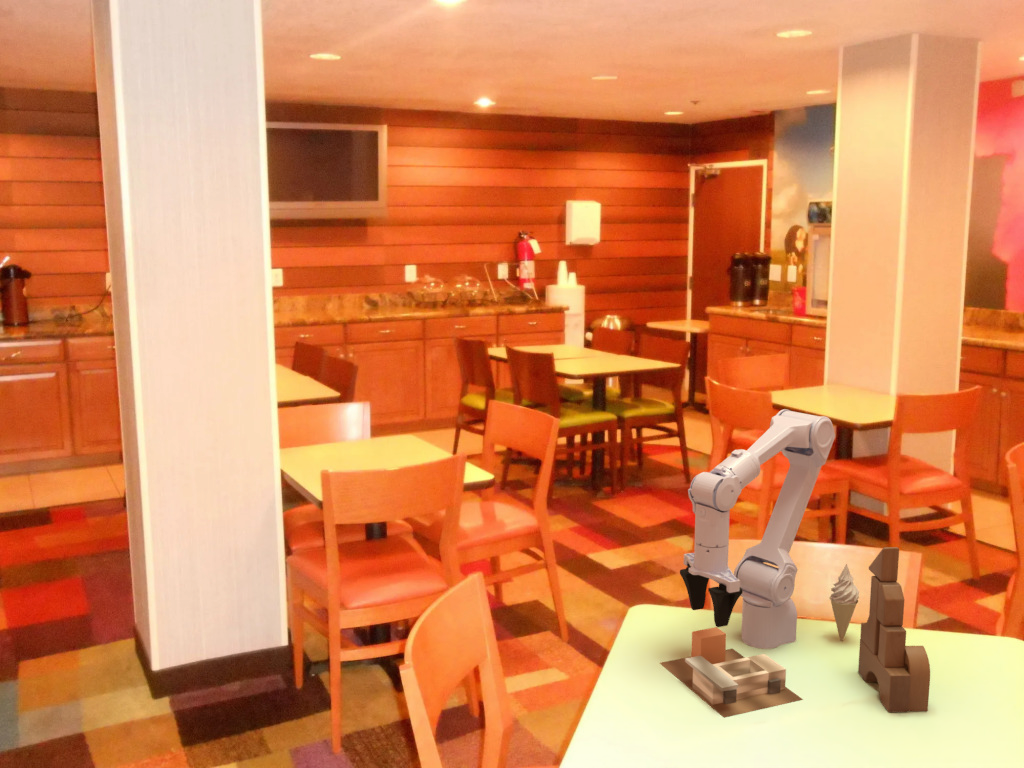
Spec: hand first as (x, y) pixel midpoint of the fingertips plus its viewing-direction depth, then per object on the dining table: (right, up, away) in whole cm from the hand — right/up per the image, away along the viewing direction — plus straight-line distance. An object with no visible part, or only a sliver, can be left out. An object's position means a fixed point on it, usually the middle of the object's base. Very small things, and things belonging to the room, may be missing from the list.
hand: (709, 617), depth 166 cm
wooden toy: (+29, -11, -6) cm, 32 cm away
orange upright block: (0, -8, +1) cm, 8 cm away
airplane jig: (+2, -10, -5) cm, 12 cm away
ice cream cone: (+27, -7, +12) cm, 31 cm away
